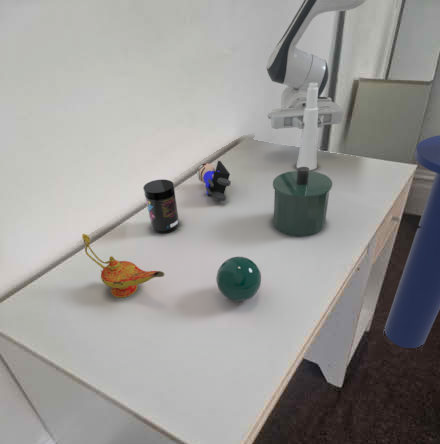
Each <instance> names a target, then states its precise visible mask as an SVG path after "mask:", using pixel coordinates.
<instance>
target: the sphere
mask: <svg viewBox="0 0 440 444" xmlns="http://www.w3.org/2000/svg"><path fill="white" fill-rule="evenodd" d="M215 280H216V285H217V288H218V290H219V292H220V294H222V296H224V298H226V299H227V300H230V301H233V302H245V301H248V300H251V299H252V298H253V297H254V296H255V295H256V294H257V293H258V291H259V290H260V288H261V286H262V285H261V283H262V274H261V271H260V269H259V267H258V265H257V264H256V263H255V262H254V261H253V260H251V259H250V258H248V257H245V256H232V257H230V258H227V259H226V260H225V261H224V262H222V264H221V265H220V266H219V268H218V269H217V273H216V279H215Z"/></svg>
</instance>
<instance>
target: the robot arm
mask: <svg viewBox="0 0 440 444" xmlns="http://www.w3.org/2000/svg"><path fill="white" fill-rule="evenodd" d="M366 1H367V0H303V2H302V3H301V5H300V7H299V8H298V10H297V12H296V14H295V15H294V17H293V19H292V20H291V22H290V24H289V25H288V27H287V28H286V31H285V32H284V33H283V36H282V37H281V38H280V40H279V42H278V43H277V45H276V46H275V47H274V49H273V50H272V51H271V53H270V55H269V57H268V60H267V64H266V71H267V75H268V77H269V78H270V80H271V81H272V82H273V83H277V84H281V85H285V86H287V87H286V88H284V89H283V91H282V93H281V95H280V108H275V109H272V110H271V112H269V113H268V114H267V118H268V120H270V126H271V129H275V130H278V129H289V128H290V129H291V128H298V130H302V129H304V122H303V117H304V109H305V108H306V103H307V90H308V88H309V83H318V86H317V87H318V99H317V107H318V125H317V129H318V128H323V127H324V126H326V125H327V126H328V125H339V124H341V123H342V120H343V115H344V110H343V108H342V107H341V106H340V105H339V104H338V103H336V102H334V101H332V100H333V99H332V98H331V97H329V96H321V95H322V93H323V92H324V90H325V88H326V86H327V83H328V81H329V67H328V62H327V61H326V59H324V58H321V57H319V56H317V55H314V54H311V53H308V52H306V51H304V50H301V49H300V48H298V47H296V46H297V45H298V43H299V42H300V40H301V38H302V37H303V35H304V34H305V32H306V30H307V29H308V27H309V26H310V24H311V22H312V21H313V20H314V19H315V18H316V17H317V16H318V15H320V14H324V13H328V12H329V13H330V12H345V11H351V10H354V9H356V8H358V7H360V6H361V5H363V4H364V3H365V2H366Z"/></svg>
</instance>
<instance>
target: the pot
mask: <svg viewBox="0 0 440 444" xmlns="http://www.w3.org/2000/svg"><path fill="white" fill-rule="evenodd" d="M329 197H330V191H329V192H327V193H326V194H324V195H321V196H317V197H312V198H294V197H289V196H285V195H283V194H280V193H278V192H277V191H276V190H275V189H274V201H273V203H274V204H273V226H274V228H275V229H276V230H277V231H278V232H280V233H281V234H284V235H287V236H292V237H309V236H310V237H311V236H313V235H316V234H319V232H321V231H322V230H323V229H324V227H325V224H326V219H327V214H328V213H327V211H328V206H329V205H328V204H329Z"/></svg>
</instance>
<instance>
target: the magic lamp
mask: <svg viewBox="0 0 440 444" xmlns="http://www.w3.org/2000/svg"><path fill="white" fill-rule="evenodd" d="M81 236H82V240H83V243H84V245H85V247H84V252H85V254H86V256H87V257H89V258H90V259H91V260H92V261H93V262H95V264H97V265H98V266H99V267H100V268H102V269H101V270H100V272H101V273H100V279H101V282H102V283H103V284H104V285H106V286H107V287H110V288H111V289H110V292H111V295H112V296H113V297H115V298H120V299H121V298H127V297H130V296H132V295H133V294H135V293H136V291H137V290H138V285H141V284H144V283H146V282H148V281H150V280H152V279H154V278H163V277H164V276H165V272H163V271H161V270H150V271H149V270H147V271H146V270H143V269H142V268H139V266H137V265H136V264H135V263H134V262H132V261H127V260H116V259H115V257H114V256H112V255H111V256H109V260H107V261H103V260H102V259H101V258H100V257H98V256H97V255H96V253H95V252H94V250H93V249H92V248H91V246H90V244H91V243H90V242H91V237H90V236H89V235H88V234H86V233H82V235H81ZM88 249H89V250H90V252H91V254H92V255H93V256H94V257H92V255H91V254H89V253H88ZM96 259H97V260H98V261H97V260H96ZM103 264H106V266H105V265H103Z"/></svg>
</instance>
